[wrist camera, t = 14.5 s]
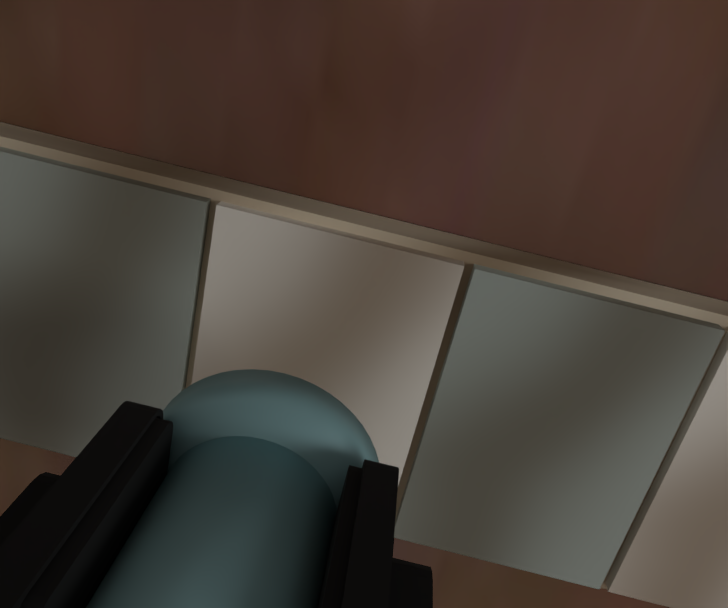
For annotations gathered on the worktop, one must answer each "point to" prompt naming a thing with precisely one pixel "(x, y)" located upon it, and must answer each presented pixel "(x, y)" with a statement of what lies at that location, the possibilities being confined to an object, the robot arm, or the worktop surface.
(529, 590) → the worktop surface
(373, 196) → the worktop surface
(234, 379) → the pawn
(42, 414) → the board
